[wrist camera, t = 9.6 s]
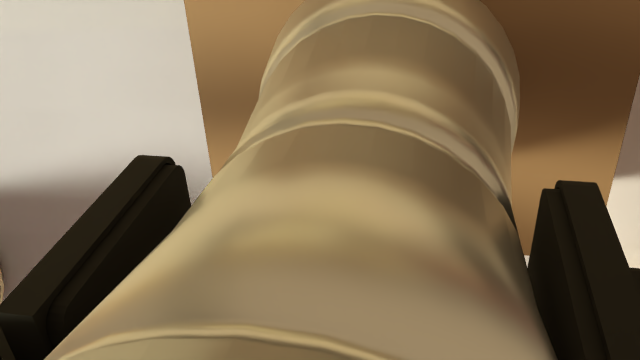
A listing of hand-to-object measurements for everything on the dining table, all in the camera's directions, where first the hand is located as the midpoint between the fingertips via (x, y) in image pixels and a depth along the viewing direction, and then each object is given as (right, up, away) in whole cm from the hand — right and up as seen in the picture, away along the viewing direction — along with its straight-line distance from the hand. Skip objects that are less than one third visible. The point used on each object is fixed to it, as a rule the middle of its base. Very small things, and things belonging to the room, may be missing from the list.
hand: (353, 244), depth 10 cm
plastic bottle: (+2, +5, +7) cm, 9 cm away
